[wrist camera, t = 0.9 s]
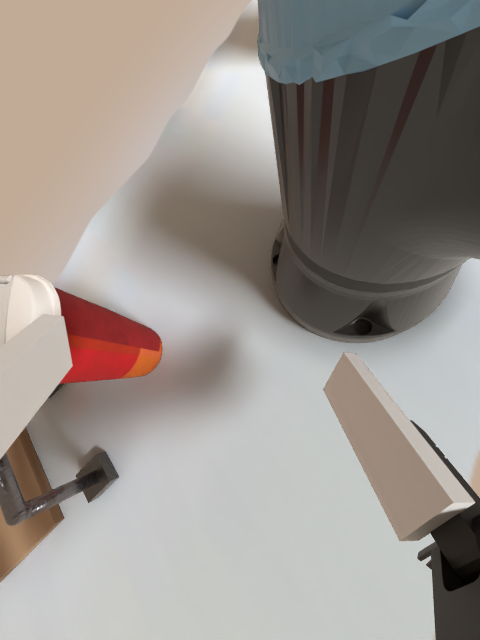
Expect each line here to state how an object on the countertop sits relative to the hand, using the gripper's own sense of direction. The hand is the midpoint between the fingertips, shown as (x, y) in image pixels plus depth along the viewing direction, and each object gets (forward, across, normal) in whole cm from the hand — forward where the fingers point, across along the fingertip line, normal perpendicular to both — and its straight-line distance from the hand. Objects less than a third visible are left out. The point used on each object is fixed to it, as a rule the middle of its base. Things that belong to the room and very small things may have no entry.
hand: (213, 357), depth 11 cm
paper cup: (+13, -7, -11) cm, 18 cm away
